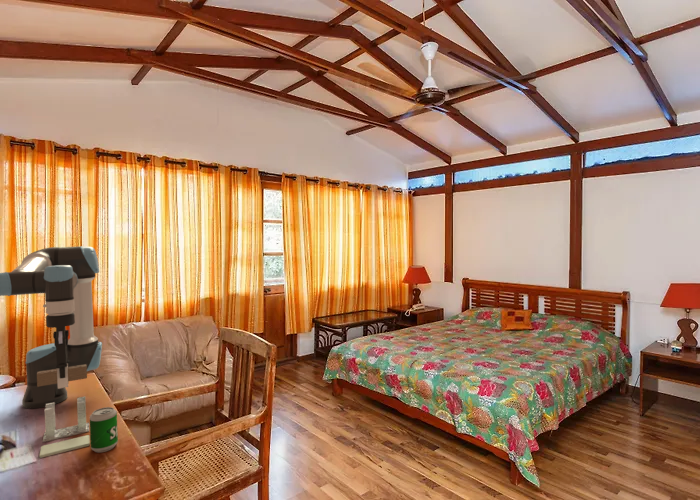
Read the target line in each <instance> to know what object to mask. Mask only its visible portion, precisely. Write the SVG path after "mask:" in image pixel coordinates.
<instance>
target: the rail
mask: <svg viewBox="0 0 700 500" xmlns="http://www.w3.org/2000/svg"><path fill="white" fill-rule="evenodd" d="M67 368H68V382H74V381H78V380H79V381H81V380H83V379H88V371H87V364H84V365H77V366H71V367H67ZM57 383H58V382H57V369H52V370H45V371H39V372H37V387H39V386H45V385H51V384H57Z"/></svg>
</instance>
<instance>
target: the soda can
mask: <svg viewBox="0 0 700 500" xmlns="http://www.w3.org/2000/svg"><path fill="white" fill-rule="evenodd" d="M118 432H119V431H118V412H117V409H115V408H114V407H110V406H107V407H101V408H98V409H95V410H94V411H93V412H92V413H91V414H90V415H89V433H90V435H89V440H90V449H91V450H92V451H94V452H95V453H104V452H108V451H111V450H113V449H114V448H115V446H116V445H117V444H118V443H119V438H118V437H119V435H118Z"/></svg>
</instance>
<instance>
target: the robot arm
mask: <svg viewBox="0 0 700 500" xmlns="http://www.w3.org/2000/svg"><path fill="white" fill-rule="evenodd" d="M99 265H100V264H99V260H98V255H97V252H96V248H94V247H92V246H82V245H81V246H59V247H58V246H53V247H45V248H42V249H38V250H36V251H34V252H31V253H29V254H27V255H26V256H25V257H23V259H22V261H21V263H20V264H19V265H18V266H17V267H15V268H14V269H13V270H12V271H10V272H7V271H5V272H0V297H2V296H7V297H10V296H20V295H21V296H23V295H34V294H35V295H36V294H37V295H38V294H45V300H44V301H45V303H43V306H42V308H45V313H46V316H45V326H46V327H47V328H48V329H50V328H51V329H52V328H55V331H53V333H52V334H53V339H54V341H53V342H54V343H49V344H43V345H40V346H36V347H34V348H32V349H30V350H28V351H27V352H26V354H25V371H26V389H25V392H24V394H23V397H22V400H21V401H22V402H21V403H22V404H21V407H22V408H24V409H39V408H46V404H48V403H53V402H55V405H57V404H59V403H62V402H63V401H65V400H66V399H68V390H67V388H69V382H70V381H68V368H67V367H71V366H77V365H84V364H87V372H89V371H94V370H97V369H98V368H99V367H100V364H101V358H102V352H103V351H102V350H103V342H101V341H99V337H97V336H96V335H95V334H94V331H95V328H94V310H93V309H94V308H93V306H94V305H93V288H92V287H93V285H92V281H93V280H94V279H95V278H96V274H98V273H100V266H99ZM66 327H69V329H67V328H66ZM52 369H57V382H58V383H57V384H51V385H45V386H39V387H37V372H39V371H45V370H52Z"/></svg>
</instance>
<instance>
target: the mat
mask: <svg viewBox="0 0 700 500" xmlns="http://www.w3.org/2000/svg"><path fill="white" fill-rule="evenodd" d="M89 446H90V447H91V440H90V435H89V434H88V435H83V436H78V437H74V438H70V439H66V440H65V439H64V440H61V441H57V442H53V443H49V444H44V445H41V447H40V451H39V455H38V456H39V458H40V459H41V458H46V457H50V456H53V455H58V454H61V453H65V452H70V451H73V450H77V449H82V448H86V447H89Z"/></svg>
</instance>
